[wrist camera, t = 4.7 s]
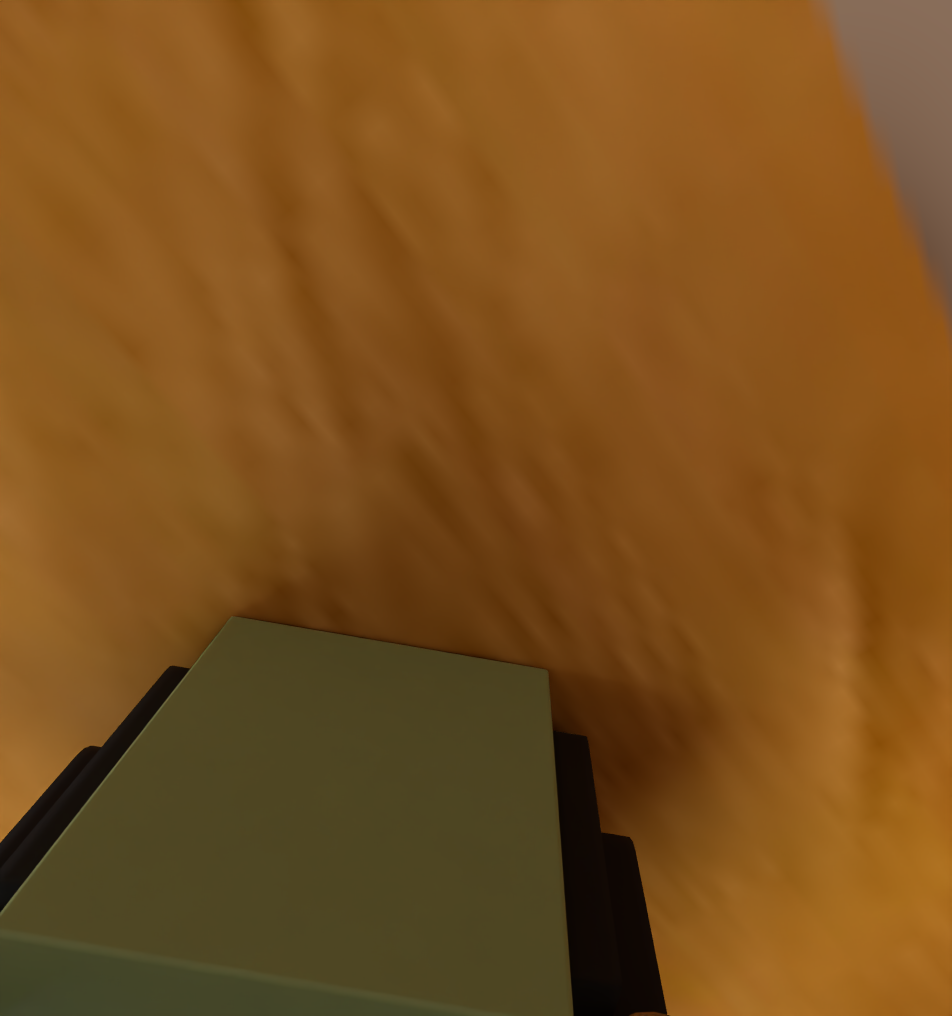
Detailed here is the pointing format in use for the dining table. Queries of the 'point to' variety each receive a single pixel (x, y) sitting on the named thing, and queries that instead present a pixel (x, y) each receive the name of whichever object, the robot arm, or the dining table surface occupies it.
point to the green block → (310, 845)
